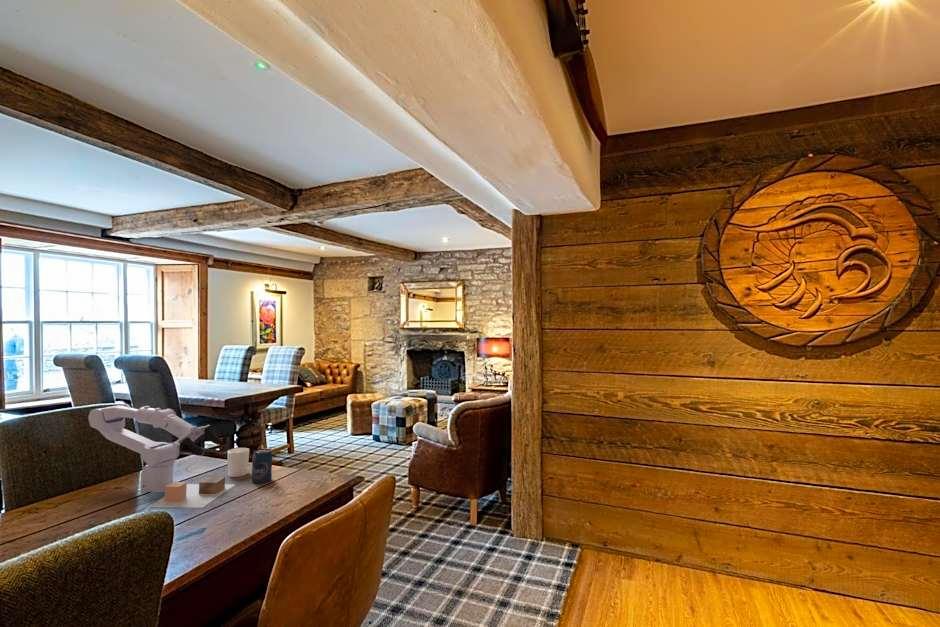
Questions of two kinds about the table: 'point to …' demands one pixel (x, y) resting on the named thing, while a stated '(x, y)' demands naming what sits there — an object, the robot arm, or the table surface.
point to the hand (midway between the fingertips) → (210, 447)
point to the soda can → (262, 466)
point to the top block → (175, 491)
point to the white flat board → (192, 498)
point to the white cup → (237, 461)
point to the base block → (211, 485)
